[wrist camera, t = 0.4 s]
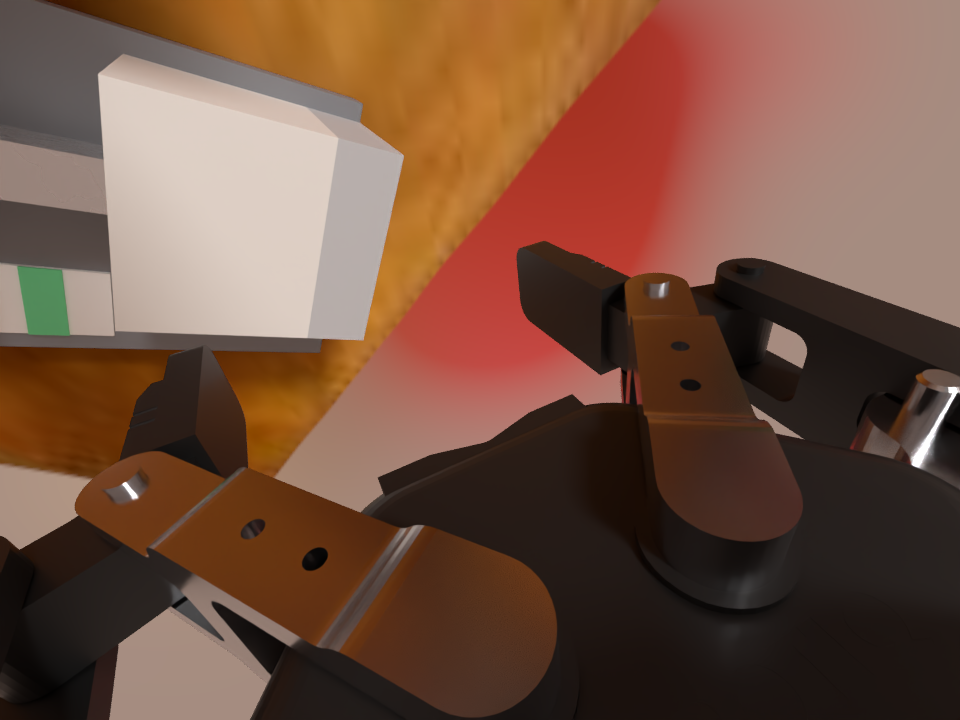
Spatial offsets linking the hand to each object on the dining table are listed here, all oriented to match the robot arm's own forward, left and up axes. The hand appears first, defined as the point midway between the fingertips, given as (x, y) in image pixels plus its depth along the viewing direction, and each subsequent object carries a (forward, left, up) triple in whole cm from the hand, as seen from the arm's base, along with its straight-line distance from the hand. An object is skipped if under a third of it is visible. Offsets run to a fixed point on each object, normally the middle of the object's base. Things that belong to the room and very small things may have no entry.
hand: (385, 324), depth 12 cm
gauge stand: (+5, -8, -22) cm, 24 cm away
